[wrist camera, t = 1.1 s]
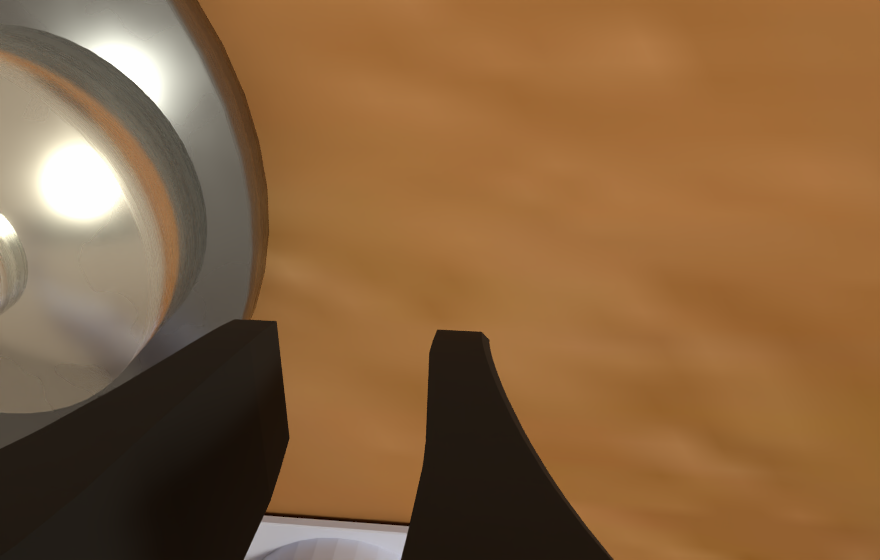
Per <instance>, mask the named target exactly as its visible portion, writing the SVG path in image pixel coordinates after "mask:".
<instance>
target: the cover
mask: <svg viewBox="0 0 880 560" xmlns="http://www.w3.org/2000/svg"><path fill="white" fill-rule="evenodd" d="M206 241H207V219H206V207H205V202H204V198H203V193H202V188H201V185H200V182H199V179H198V176H197V173H196V170H195V167H194V165H193V162H192V160H191V158H190V156H189V154H188V152H187V150H186V148H185V146H184V144H183V142H182V140H181V139H180V137H179V136H178V134H177V133H176V131H175V129H174V128H173V126H172V125H171V123H170V121H169V120H168V119H167V118H166V116H165V115H164V114H163V113H162V111H161V110H160V109H159V108H158V106H157V105H156V104H155V103H154V101H153V100H152V99H151V98H150V97H149V96H148V95H147V94H146V93H145V92H144V91H143V90H142V89H141V88H140V87H139V86H138V85H137V84H136V83H135V82H134V81H132V80H131V79H130V78H129V77H127V76H126V75H125V74H124V73H123V72H121V71H120V70H119V69H118V68H116V67H115V66H114V65H112V64H111V63H109V62H108V61H106V60H105V59H103V58H102V57H100V56H99V55H97V54H95V53H94V52H92V51H90V50H88V49H86V48H84V47H82V46H80V45H78V44H76V43H74V42H72V41H70V40H68V39H65V38H63V37H60V36H57V35H54V34H52V33H49V32H46V31H42V30H38V29H33V28H29V27H25V26H18V25H7V24H0V412H1V413H38V412H47V411H52V410H56V409H60V408H64V407H68V406H71V405H74V404H76V403H79V402H81V401H83V400H86V399H88V398H90V397H91V396H93V395H95V394H96V393H98V392H100V391H101V390H103V389H104V388H105V387H107V386H108V385H109V384H110V383H111V382H112V381H114V380H115V379H116V378H117V377H118V376H119V375H120V374H121V373H122V371H123V370H124V369H125V368H126V367H127V366H128V365H129V364H130V363H131V361H132V360H133V359H134V358H135V357H136V356H137V355H138V354H139V352H140V351H141V350H142V349H143V348H144V347H145V346H146V345H147V343H148V342H149V341H150V340H151V339H152V338H153V337H154V336H155V334H156V333H157V332H158V331H159V330H160V329H161V328H162V327H163V325H164V324H165V323H166V322H167V321H168V320H169V319H170V318H171V316H172V315H173V314H174V313H175V312H176V311H177V310H178V308H179V307H180V306H181V305H182V304H183V302H184V301H185V300H186V299H187V297H188V296H189V294H190V292H191V290H192V289H193V287H194V285H195V284H196V281H197V279H198V276H199V273H200V271H201V268H202V265H203V260H204V256H205V251H206Z"/></svg>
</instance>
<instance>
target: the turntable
mask: <svg viewBox="0 0 880 560" xmlns="http://www.w3.org/2000/svg"><path fill="white" fill-rule="evenodd" d="M0 24H7V25H18V26H25V27H29V28H33V29H38V30H42V31H46V32H49V33H52V34H54V35H57V36H60V37H63V38H65V39H68V40H70V41H72V42H74V43H76V44H78V45H80V46H82V47H84V48H86V49H88V50H90V51H92V52H94V53H95V54H97V55H99V56H100V57H102V58H103V59H105V60H106V61H108V62H109V63H111V64H112V65H114V66H115V67H116V68H118V69H119V70H120V71H121V72H123V73H124V74H125V75H126V76H127V77H129V78H130V79H131V80H132V81H134V82H135V83H136V84H137V85H138V86H139V87H140V88H141V89H142V90H143V91H144V92H145V93H146V94H147V95H148V96H149V97H150V98H151V99H152V100H153V101H154V103H155V104H156V105H157V106H158V108H159V109H160V110H161V111H162V113H163V114H164V115H165V116H166V118H167V119H168V120H169V121H170V123H171V125H172V126H173V128H174V129H175V131H176V133H177V134H178V136H179V137H180V139H181V140H182V142H183V144H184V146H185V148H186V150H187V152H188V154H189V156H190V158H191V160H192V162H193V165H194V167H195V170H196V173H197V176H198V179H199V182H200V185H201V188H202V193H203V198H204V202H205V207H206V219H207V241H206V251H205V256H204V260H203V265H202V268H201V271H200V273H199V276H198V279H197V281H196V284H195V285H194V287H193V289H192V290H191V292H190V294H189V296H188V297H187V299H186V300H185V301H184V302H183V304H182V305H181V306H180V307H179V308H178V310H177V311H176V312H175V313H174V314H173V315H172V316H171V318H170V319H169V320H168V321H167V322H166V323H165V324H164V325H163V327H162V328H161V329H160V330H159V331H158V332H157V333H156V334H155V336H154V337H153V338H152V339H151V340H150V341H149V342H148V343H147V345H146V346H145V347H144V348H143V349H142V350H141V351H140V352H139V354H138V355H137V356H136V357H135V358H134V359H133V360H132V361H131V363H130V364H129V365H128V366H127V367H126V368H125V369H124V370H123V371H122V373H121V374H120V375H119V376H118V377H117V378H116V379H115V380H114V381H112V382H111V383H110V384H109V385H108V386H107V387H105V388H104V389H103V390H101V391H100V392H98V393H96V394H95V395H93V396H91V397H90V398H88V399H86V400H83V401H81V402H79V403H76V404H74V405H71V406H68V407H64V408H60V409H56V410H52V411H47V412H38V413H1V412H0V449H1V448H3V447H5V446H7V445H9V444H11V443H13V442H15V441H17V440H19V439H21V438H23V437H26V436H28V435H30V434H32V433H33V432H35V431H37V430H39V429H41V428H43V427H45V426H47V425H49V424H51V423H53V422H55V421H56V420H58V419H60V418H62V417H64V416H65V415H67V414H69V413H71V412H73V411H75V410H76V409H78V408H80V407H82V406H84V405H86V404H87V403H89V402H91V401H93V400H95V399H97V398H98V397H100V396H102V395H104V394H106V393H108V392H109V391H111V390H113V389H115V388H117V387H118V386H120V385H122V384H124V383H125V382H127V381H129V380H130V379H132V378H134V377H135V376H137V375H139V374H140V373H142V372H144V371H145V370H147V369H149V368H150V367H152V366H154V365H155V364H157V363H159V362H160V361H162V360H164V359H165V358H167V357H169V356H170V355H172V354H174V353H175V352H177V351H179V350H180V349H182V348H184V347H185V346H187V345H189V344H190V343H192V342H194V341H195V340H197V339H199V338H200V337H202V336H204V335H205V334H207V333H209V332H211V331H212V330H214V329H216V328H218V327H220V326H222V325H223V324H225V323H228V322H230V321H232V320H234V319H241V320H250V319H251V317H252V315H253V312H254V310H255V308H256V304H257V300H258V296H259V292H260V288H261V284H262V281H263V277H264V273H265V265H266V255H267V246H268V236H269V220H268V195H267V184H266V178H265V173H264V167H263V161H262V155H261V150H260V144H259V140H258V137H257V133H256V130H255V127H254V123H253V120H252V117H251V114H250V110H249V107H248V104H247V100H246V97H245V94H244V92H243V89H242V87H241V85H240V83H239V80H238V78H237V76H236V73H235V71H234V69H233V67H232V64H231V62H230V60H229V57H228V55H227V53H226V50H225V48H224V46H223V44H222V42H221V40H220V39H219V37H218V35H217V34H216V32H215V30H214V28H213V27H212V25H211V23H210V21H209V20H208V18H207V16H206V15H205V13H204V11H203V9H202V8H201V6H200V4H199V2H198V1H197V0H0Z"/></svg>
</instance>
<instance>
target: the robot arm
mask: <svg viewBox="0 0 880 560" xmlns="http://www.w3.org/2000/svg"><path fill="white" fill-rule="evenodd" d="M288 441H289V430H288V421H287V412H286V403H285V394H284V385H283V376H282V367H281V357H280V348H279V339H278V330H277V321H261V320H241V319H234V320H232V321H230V322H228V323H225V324H223V325H222V326H220V327H218V328H216V329H214V330H212V331H211V332H209V333H207V334H205V335H204V336H202V337H200V338H199V339H197V340H195V341H194V342H192V343H190V344H189V345H187V346H185V347H184V348H182V349H180V350H179V351H177V352H175V353H174V354H172V355H170V356H169V357H167V358H165V359H164V360H162V361H160V362H159V363H157V364H155V365H154V366H152V367H150V368H149V369H147V370H145V371H144V372H142V373H140V374H139V375H137V376H135V377H134V378H132V379H130V380H129V381H127V382H125V383H124V384H122V385H120V386H118V387H117V388H115V389H113V390H111V391H109V392H108V393H106V394H104V395H102V396H100V397H98V398H97V399H95V400H93V401H91V402H89V403H87V404H86V405H84V406H82V407H80V408H78V409H76V410H75V411H73V412H71V413H69V414H67V415H65V416H64V417H62V418H60V419H58V420H56V421H55V422H53V423H51V424H49V425H47V426H45V427H43V428H41V429H39V430H37V431H35V432H33V433H32V434H30V435H28V436H26V437H23V438H21V439H19V440H17V441H15V442H13V443H11V444H9V445H7V446H5V447H3V448H1V449H0V560H613V558H612V557H611V556H610V555H609V554H608V552H607V551H606V550H605V549H604V547H603V546H602V545H601V544H600V542H599V541H598V540H597V539H596V537H595V536H594V535H593V534H592V532H591V531H590V530H589V529H588V527H587V526H586V525H585V524H584V522H583V521H582V519H581V518H580V517H579V515H578V514H577V513H576V511H575V510H574V509H573V507H572V506H571V505H570V503H569V502H568V501H567V499H566V498H565V496H564V495H563V493H562V492H561V490H560V489H559V488H558V486H557V485H556V483H555V482H554V480H553V478H552V477H551V475H550V474H549V472H548V471H547V469H546V468H545V466H544V464H543V463H542V461H541V459H540V458H539V456H538V454H537V453H536V451H535V449H534V448H533V446H532V444H531V443H530V441H529V439H528V437H527V435H526V434H525V432H524V430H523V428H522V426H521V424H520V422H519V420H518V418H517V416H516V414H515V412H514V410H513V408H512V406H511V404H510V402H509V400H508V398H507V396H506V393H505V391H504V389H503V386H502V384H501V381H500V379H499V376H498V374H497V371H496V368H495V365H494V362H493V359H492V355H491V351H490V345H489V339H488V338H487V337H486V336H485V335H484V334H483V333H482V332H472V331H453V330H437V332H436V334H435V337H434V339H433V343H432V346H431V349H430V353H429V376H428V400H427V425H426V444H425V453H424V461H423V468H422V472H421V476H420V481H419V485H418V490H417V494H416V499H415V503H414V508H413V512H412V516H411V520H410V525H409V526H399V525H385V524H372V523H358V522H345V521H332V520H318V519H305V518H291V517H278V516H265V515H264V514H265V512H266V510H267V507H268V505H269V503H270V500H271V497H272V494H273V491H274V488H275V485H276V482H277V479H278V475H279V472H280V469H281V465H282V462H283V459H284V455H285V452H286V448H287V445H288Z"/></svg>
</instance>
